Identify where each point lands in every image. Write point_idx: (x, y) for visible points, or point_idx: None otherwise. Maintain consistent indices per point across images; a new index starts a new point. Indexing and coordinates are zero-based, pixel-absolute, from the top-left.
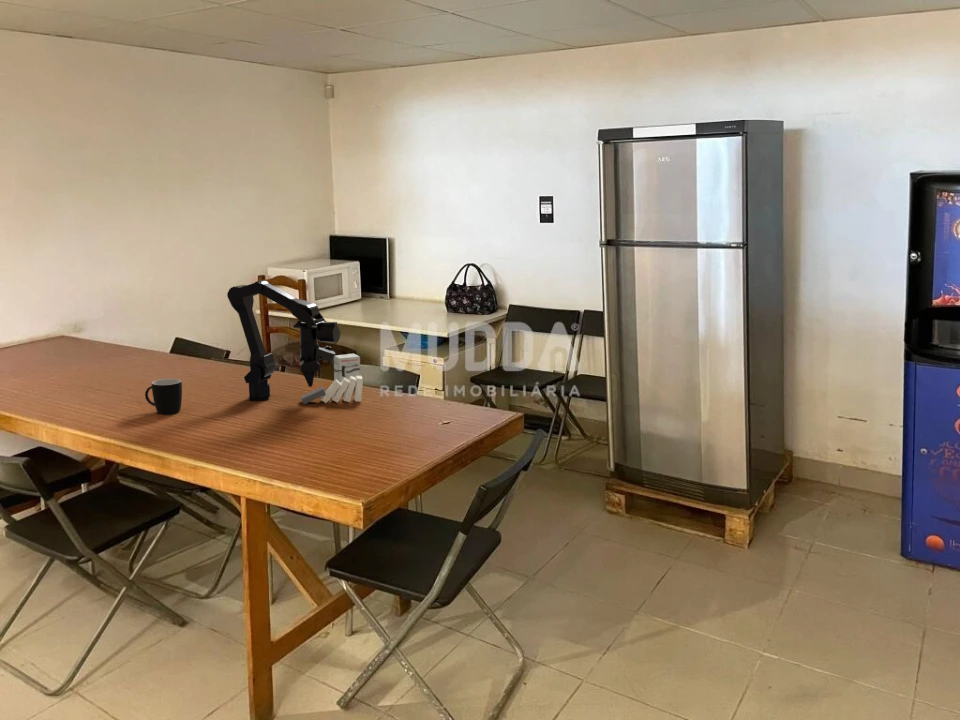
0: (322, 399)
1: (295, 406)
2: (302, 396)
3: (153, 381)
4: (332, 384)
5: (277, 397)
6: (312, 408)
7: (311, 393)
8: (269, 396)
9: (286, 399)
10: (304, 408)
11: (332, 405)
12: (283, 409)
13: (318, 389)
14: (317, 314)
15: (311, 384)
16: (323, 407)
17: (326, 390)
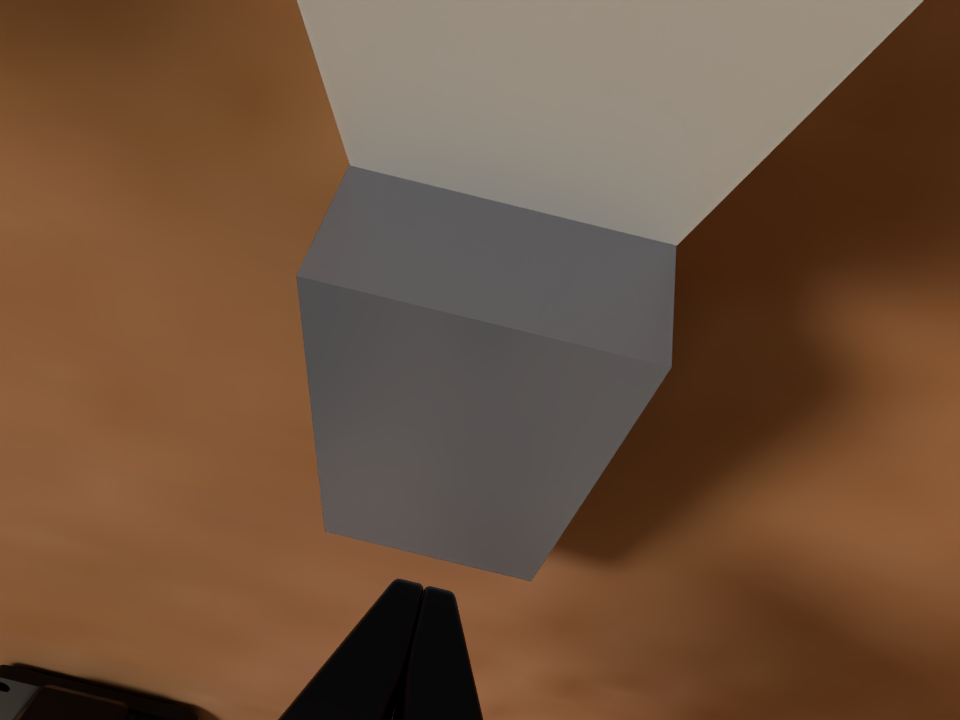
0: None
1: (594, 594)
2: (389, 538)
3: None
4: (502, 17)
5: (85, 619)
6: (845, 464)
7: (480, 488)
8: (127, 711)
9: (199, 577)
10: (767, 544)
11: (893, 104)
12: (661, 711)
13: (428, 388)
14: None
15: (459, 652)
16: (912, 306)
17: (383, 153)
